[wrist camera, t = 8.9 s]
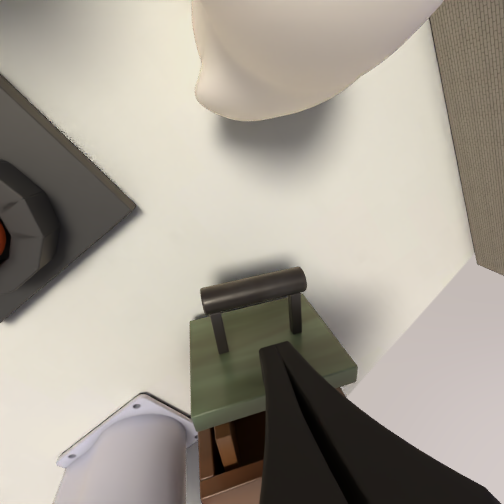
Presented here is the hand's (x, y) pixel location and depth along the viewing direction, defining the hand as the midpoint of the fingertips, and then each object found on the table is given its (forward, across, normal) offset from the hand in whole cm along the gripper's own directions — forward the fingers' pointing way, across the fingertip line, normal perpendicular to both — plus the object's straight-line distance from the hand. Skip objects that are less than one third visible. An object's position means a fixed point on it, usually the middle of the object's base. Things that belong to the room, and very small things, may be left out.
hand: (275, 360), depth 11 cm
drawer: (+7, 0, +5) cm, 8 cm away
